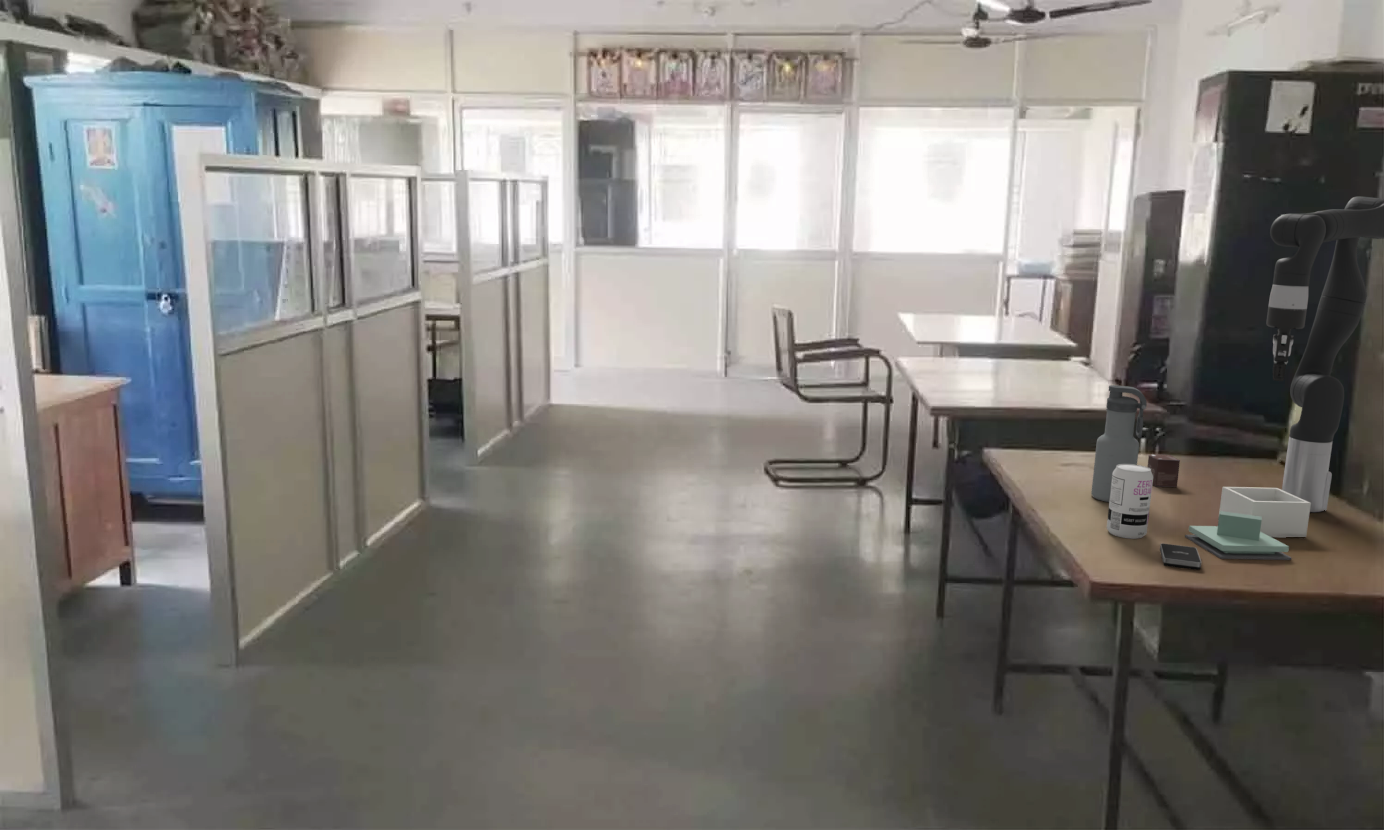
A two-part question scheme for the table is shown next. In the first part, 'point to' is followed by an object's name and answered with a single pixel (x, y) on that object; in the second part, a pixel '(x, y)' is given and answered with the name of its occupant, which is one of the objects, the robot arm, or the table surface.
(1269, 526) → the storage box
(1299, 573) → the table surface
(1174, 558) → the external hard drive
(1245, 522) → the lid
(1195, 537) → the mat
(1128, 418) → the water bottle
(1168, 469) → the box
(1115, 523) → the supplement can
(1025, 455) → the table surface
